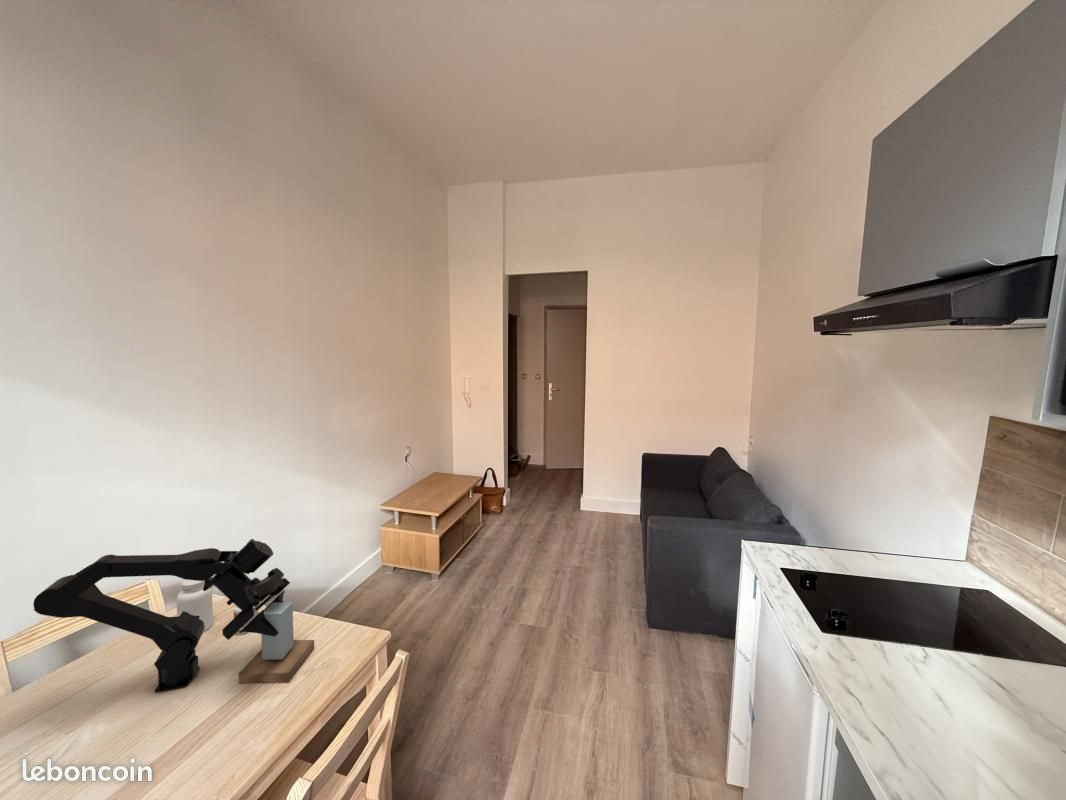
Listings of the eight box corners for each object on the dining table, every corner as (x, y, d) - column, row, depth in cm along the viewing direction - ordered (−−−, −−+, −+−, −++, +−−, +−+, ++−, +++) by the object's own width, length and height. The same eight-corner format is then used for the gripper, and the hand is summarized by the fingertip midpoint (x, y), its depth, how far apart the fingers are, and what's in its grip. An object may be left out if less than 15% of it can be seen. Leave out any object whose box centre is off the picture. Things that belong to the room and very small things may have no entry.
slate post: (262, 659, 99) (260, 613, 98) (274, 645, 104) (273, 602, 103) (282, 659, 99) (281, 613, 99) (293, 645, 104) (292, 602, 104)
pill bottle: (183, 641, 110) (181, 590, 109) (173, 631, 114) (171, 582, 113) (218, 626, 117) (216, 578, 116) (207, 617, 121) (205, 570, 120)
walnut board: (238, 683, 96) (238, 673, 96) (270, 649, 108) (269, 640, 108) (288, 682, 96) (288, 672, 96) (314, 648, 108) (314, 639, 108)
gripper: (233, 585, 91) (283, 630, 92) (282, 549, 109) (323, 587, 110) (200, 617, 91) (249, 662, 92) (254, 576, 110) (295, 614, 111)
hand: (283, 628), depth 101 cm, fingers closed on slate post, 5 cm apart
